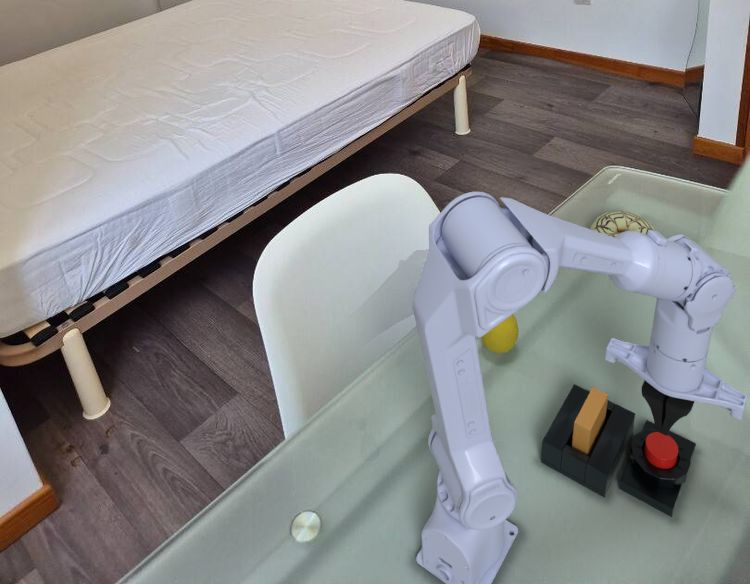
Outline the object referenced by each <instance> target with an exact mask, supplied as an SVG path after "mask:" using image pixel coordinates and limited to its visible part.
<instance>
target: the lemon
mask: <svg viewBox="0 0 750 584" xmlns="http://www.w3.org/2000/svg"><path fill="white" fill-rule="evenodd" d="M518 338H519V325H518V321H517V318H516V316H515V315H514V314H512V315H511V316H510V317H508V318H507V319H505V320H504V321H503V322H501V323H500V324H499V325H497V326H496V327H494V328H493V329H492V330H490V331H489V332H487V333H486V334H485V335H483V336H482V337H480V339H481V342H482V344H483V345H484V347H485V348H486V349H487V350H489V351H490V352H492V353H495V354H505V353H508V352H509V351H511V350H512V349H513V348H514V347H515V345H516V344H517V341H518Z"/></svg>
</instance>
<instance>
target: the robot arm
mask: <svg viewBox="0 0 750 584" xmlns="http://www.w3.org/2000/svg"><path fill="white" fill-rule="evenodd" d="M499 199H500V201H501V202H502V204H503V206H504V207H501V206H500V203H499V202H498V201H497V200H496V198H495V197H494V196H492V195H491V194H489V193H487V192H483V191H470V192H466V193H463V194H461V195H459V196H457V197H455V198H453V199H452V200H451V201H450V202H449V203H448V204H447V205H446V206H445V207H444V208H443V209H442V210H441V212H440V213H439V214H437V216H436V217H435V219H433V221H432V222H430V224H429V225H428V253H427V256H426V259H425V262H424V266H423V268H422V271H421V274H420V278H419V281H418V283H417V286H416V289H415V293H414V296H413V299H412V311H413V315H414V320H415V325H416V330H417V334H418V338H419V343H420V347H421V352H422V358H423V361H424V366H425V371H426V375H427V381H428V385H429V389H430V394H431V399H432V404H433V407H434V414H433V415H431V416H430V419H431V430H430V432H429V435H428V438H427V446H428V449H429V451H430V453H431V454H432V455H433V457H434V459H435V461H436V464H437V466H438V469H439V470H438V473H437V482H436V483H437V484H436V489H437V490H436V499H435V503H434V507H433V509H432V512H431V514H430V516H429V517H428V520H427V521H426V523H425V524H424V526H423V528H422V531H421V535H420V536H421V548H420V550H419V551H418V553H417V554H416V557H415V560H416V563H417V564H418V565H419V566H421V567H422V568H423V569H425V570H426V571H428V572H429V573H431V574H432V575H433V576H434V577H436V578H437V579H439V580H440V581H441V582H443V583H444V584H493V582H494V580H495V578H496V576H497V574H498V572H499V570H500V568H501V567H502V565H503V563H504V561H505V559H506V557H507V556H508V553H509V551H510V549H511V548H512V546H513V544H514V542H515V540H516V538H517V536H518V534H519V527H518V526H517V525H515V524H514V523H512V522H511V521H509V520H507V519H508V518H509V517H510V516H511V514H512V513H513V511H514V510H515V507H516V505H517V503H518V500H519V492H518V490H517V488H516V486H515V485H514V483H512V482H511V480H510V478H509V476H508V474H507V472H506V470H505V468H504V466H503V463H502V460H501V458H500V456H499V452H498V450H497V448H496V445H495V443H494V440H493V437H492V436H493V435H492V430H491V429H492V428H491V424H490V417H489V411H488V410H489V409H488V406H487V399H486V392H485V387H484V379H483V375H482V368H481V362H480V356H479V348H478V342H477V338H480V339H481V337H482V336H483V335H485V334H486V333H487V332H489V331H490V330H492V329H493V328H494V327H496V326H497V325H499V324H500V323H501V322H503V321H504V320H505V319H507V318H508V317H510V316H511V315H512V314H513V315H514V314H515V313H516V312H518V311H519V310H521V309H522V308H524V307H525V306H526V305H527V304H529V303H530V302H532V301H533V300H534V299H535V298H536V297H537V295H538V294H539V293H540V292H542V293H547V292H548V291H549V290H550V289H551V288H552V286H553V284H554V282H555V280H556V278H557V275H558V272H559V269H565V270H572V271H577V272H578V271H579V272H586V273H593V274H600V275H606V276H608V278H609V280H610V281H611V283H612V284H613V285H614V286H615V287H616V288H618V289H620V290H622V291H626V292H630V293H634V294H639V295H643V296H647V297H653V298H656V301H655V308H654V313H653V314H654V315H653V321H652V327H651V332H650V339H649V345H646V344H639V343H633V342H629V341H628V342H627V341H624V340H621V339H617V338H615V337H611V338H610V340H609V342H608V343H607V346H606V347H605V355H604V360H605V361H606V362H609V363H610V364H614V363H616V361H617V362H619V363H621V364H623V365H625V366H626V367H627V368H628V369H630V370H631V371H632V372H634V373H635V374H636V375H638V376H639V377H640V378H641V379H642V380H643V383H642V385H641V396H642V397H643V399H644V400H645V402H646V403H647V404H648V407H649V409H650V412H651V415H652V419H653V423H654V424H655V430H656V431H657V432H659V433H662V434H664V435H666V436H668V433H669V431H671V428H672V427H673V426H674V425H675V423H677V422H678V421H679V420H681V419H682V418H684V417H687V416H688V415H689V414H690V413H691V411H692V410H693V407H694V404H695V402H696V403H701V404H702V403H703V404H707V405H711V406H712V405H713V406H718V407H720V408H723V409H725V410H727V411H730V412H729V415H730V417H732V418H734V419H736V420H738V421H742V419H743V417H744V412H745V410H746V409H745V408H746V406H747V401H748V397H749V395H748V394H746V393H744V392H742V391H740V390H739V389H737V388H734V387H733V386H731V385H730V384H729V383H727V382H726V381H725V380H723V379H722V378H720V377H719V376H717V375H716V374H714V373H713V372H712V371H710V370H709V369H708V368H706V363H707V358H708V353H709V349H710V344H711V340H712V334H713V330H714V327H715V326H717V325H718V322H719V321H721V319H722V315H723V312H724V310H725V308H726V307H727V306H728V305H729V303H730V302H731V301H732V300H733V298H734V296H735V294H736V293H737V289H738V287H737V286H735V284H734V282H733V278H732V273H731V272H730V271H729V270H728V269H727V268H726V267H725V266H724V265H723V264H722V263H720V262H719V261H718V260H717V259H716V258H715V257H713V256H712V255H711V254H709V253H708V252H707V251H706V250H705V249H704V248H703V247H701V246H700V245H699V244H698V243H697V242H696V241H694V240H692V239H691V238H690V237H688V236H686V235H685V234H683V233H681V234H675V235H673V236H670V237H668V238H666V237H665V236H663V235H662V234H661V233H660V232H659V231H657V230H655V231H653V230H649V231H648V233H647V234H643V233H640V232H636V231H625V232H622V233H620V234H618V235H617V236H616V237H615V238H614V237H611V236H608V235H605V234H602V233H599V232H596V231H593V230H590V228H587V227H585V226H581V225H579V224H575V223H573V222H571V221H567V220H564V219H561V218H559V217H556V216H553V215H550V214H547V213H545V212H542V211H540V210H537V209H536V208H533V207H531V206H529V205H527V204H524V203H523V202H520V201H518V200H515V199H513V198H511V197H503V196H501V197H499Z"/></svg>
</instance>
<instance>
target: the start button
mask: <svg viewBox="0 0 750 584" xmlns="http://www.w3.org/2000/svg"><path fill="white" fill-rule="evenodd" d="M644 453H645V456H646V458H647V460H648V461H649V462H650V463H651V464H652V465H654V466H655V467H658V468H661V469H669V468H672V467H673V466H674V465H675V464H676V461H677V456H678V446H677V444H676V442H675V441H674V439H673V438H671V437H670V436H669V435H668V436H666V435H664V434H662V433H659V432H653V433H651V434H649V435H648V436H647V438H646V442H645V448H644Z"/></svg>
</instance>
